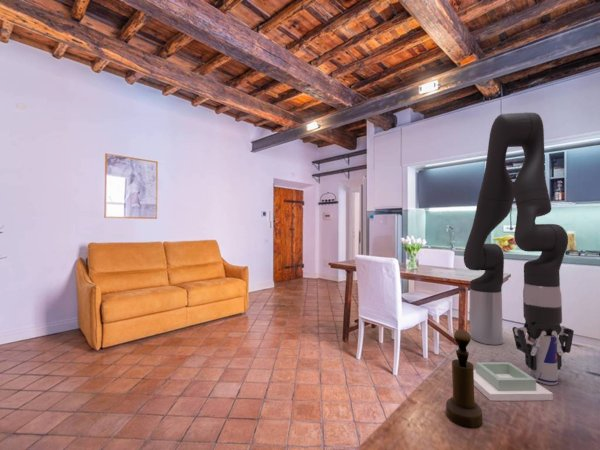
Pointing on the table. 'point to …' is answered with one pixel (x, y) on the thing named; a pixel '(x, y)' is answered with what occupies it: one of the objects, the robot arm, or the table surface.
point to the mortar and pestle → (463, 387)
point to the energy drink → (546, 361)
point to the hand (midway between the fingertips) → (543, 368)
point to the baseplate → (507, 383)
